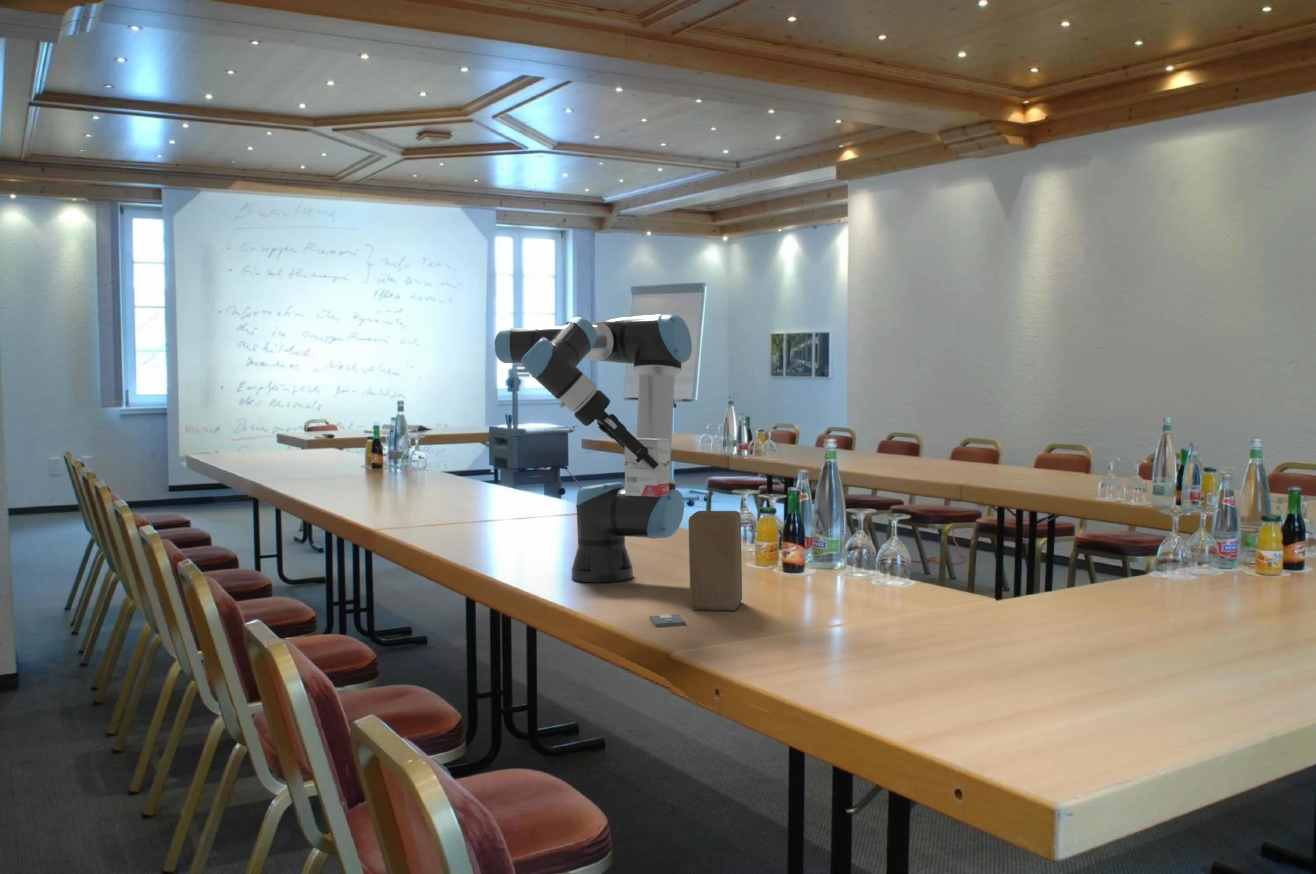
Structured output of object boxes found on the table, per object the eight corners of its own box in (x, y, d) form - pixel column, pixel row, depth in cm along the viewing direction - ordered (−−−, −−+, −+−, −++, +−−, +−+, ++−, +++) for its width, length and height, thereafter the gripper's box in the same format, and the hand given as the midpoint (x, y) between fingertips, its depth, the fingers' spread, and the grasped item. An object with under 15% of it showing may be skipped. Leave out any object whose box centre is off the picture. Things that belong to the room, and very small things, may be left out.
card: (649, 618, 216) (649, 615, 216) (678, 616, 217) (678, 613, 217) (656, 626, 209) (655, 622, 209) (685, 624, 210) (685, 620, 210)
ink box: (671, 494, 221) (670, 438, 220) (658, 497, 217) (657, 439, 216) (637, 492, 226) (636, 437, 225) (623, 495, 222) (622, 438, 221)
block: (737, 612, 220) (735, 516, 219) (689, 611, 222) (687, 516, 221) (742, 601, 230) (741, 510, 229) (697, 600, 232) (695, 510, 231)
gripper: (567, 412, 228) (641, 483, 232) (577, 416, 207) (659, 494, 211) (591, 387, 229) (665, 458, 233) (604, 388, 208) (685, 466, 211)
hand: (662, 475), depth 222 cm, fingers closed on ink box, 9 cm apart
